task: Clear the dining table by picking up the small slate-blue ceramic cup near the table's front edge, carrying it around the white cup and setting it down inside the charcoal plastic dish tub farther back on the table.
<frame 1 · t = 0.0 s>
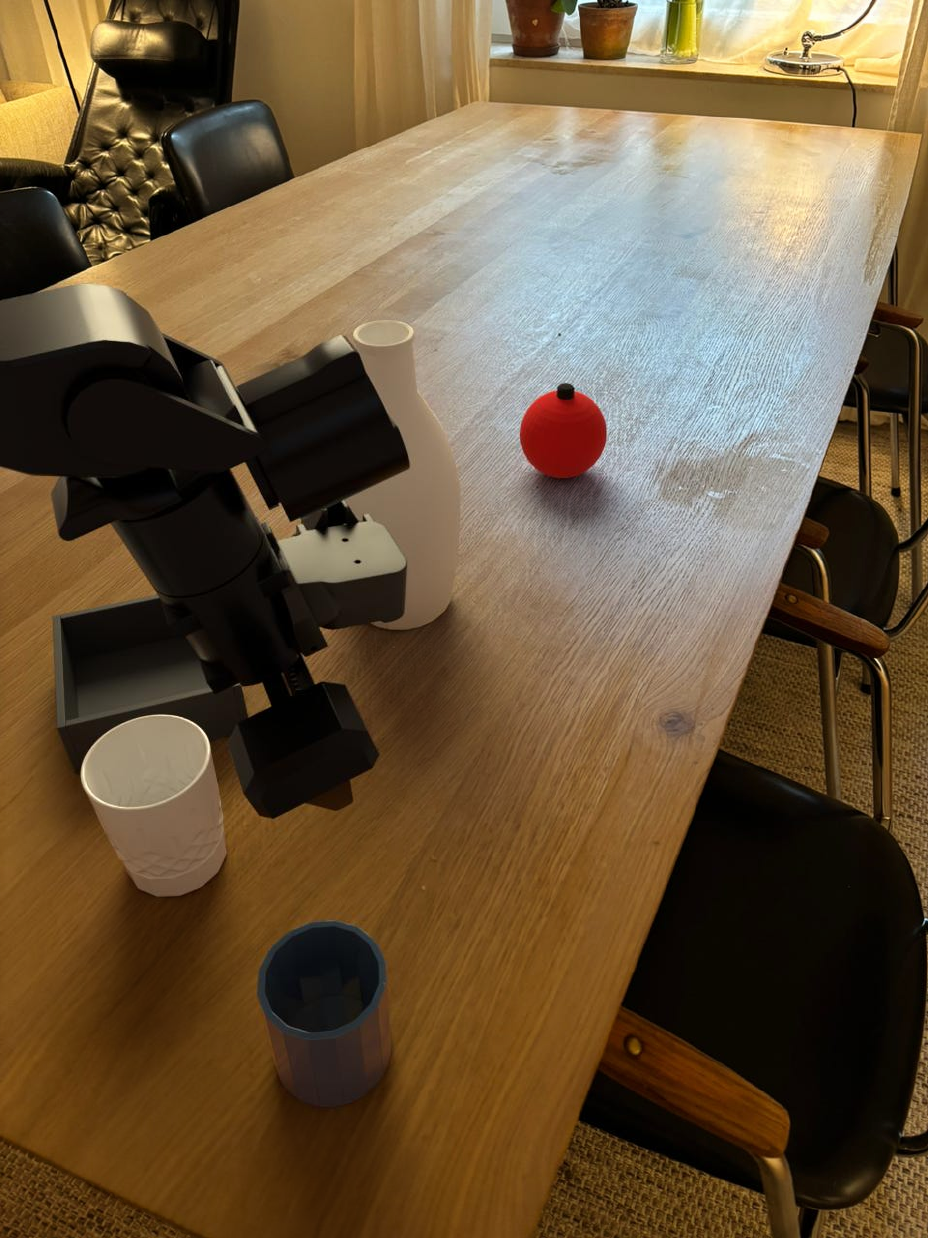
hand: (319, 747, 57), 14 cm above the table, tool pointing down, fingers open, 9 cm apart
bottle: (401, 601, 89), on the table
white cup: (178, 858, 69), on the table
ornament: (560, 473, 106), on the table
cup: (333, 1048, 58), on the table
tub: (156, 694, 80), on the table
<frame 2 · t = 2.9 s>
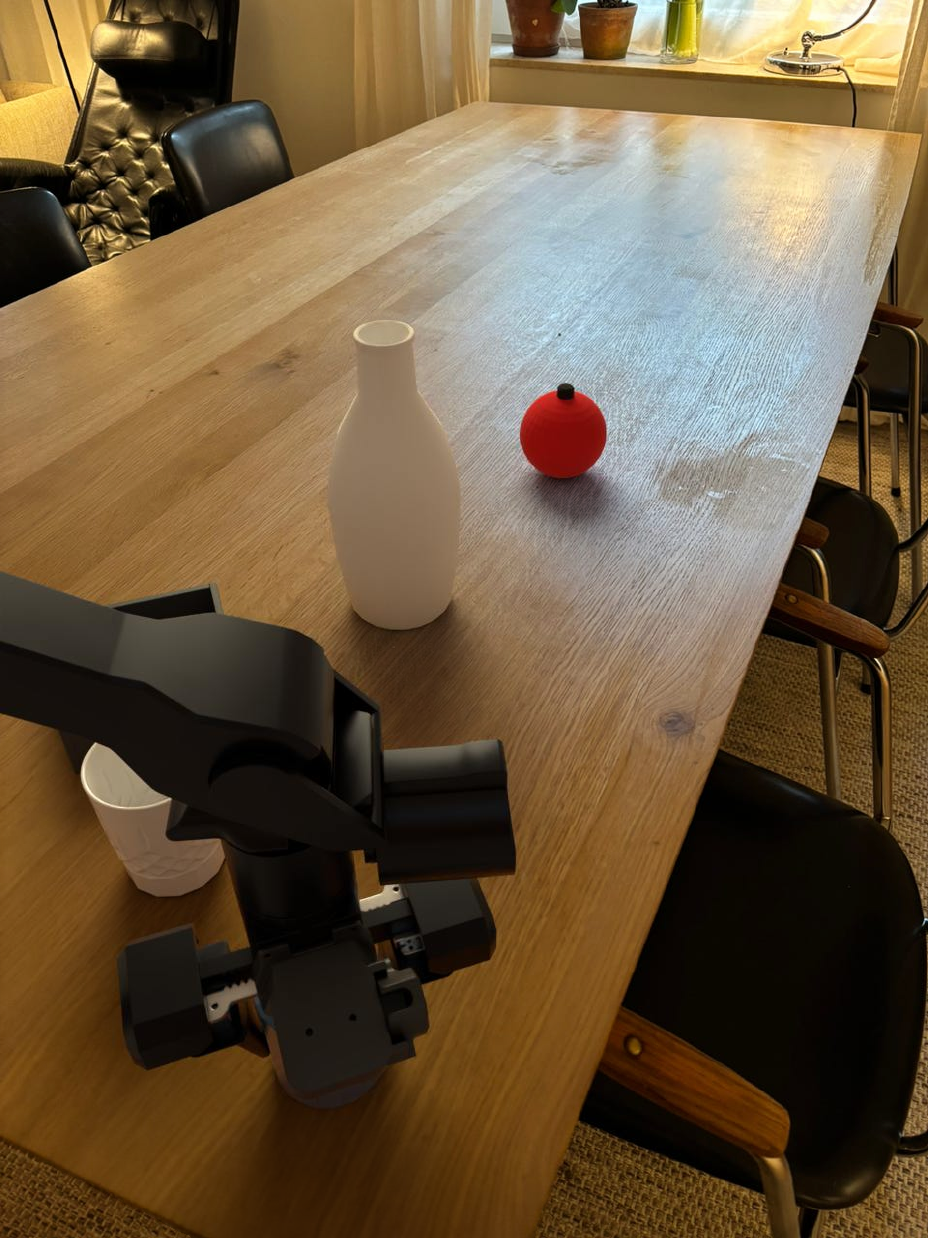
hand: (327, 1029, 57), 2 cm above the table, tool pointing down, fingers closed on cup, 7 cm apart
cup: (331, 1049, 58), on the table, touching gripper
everything else where it was.
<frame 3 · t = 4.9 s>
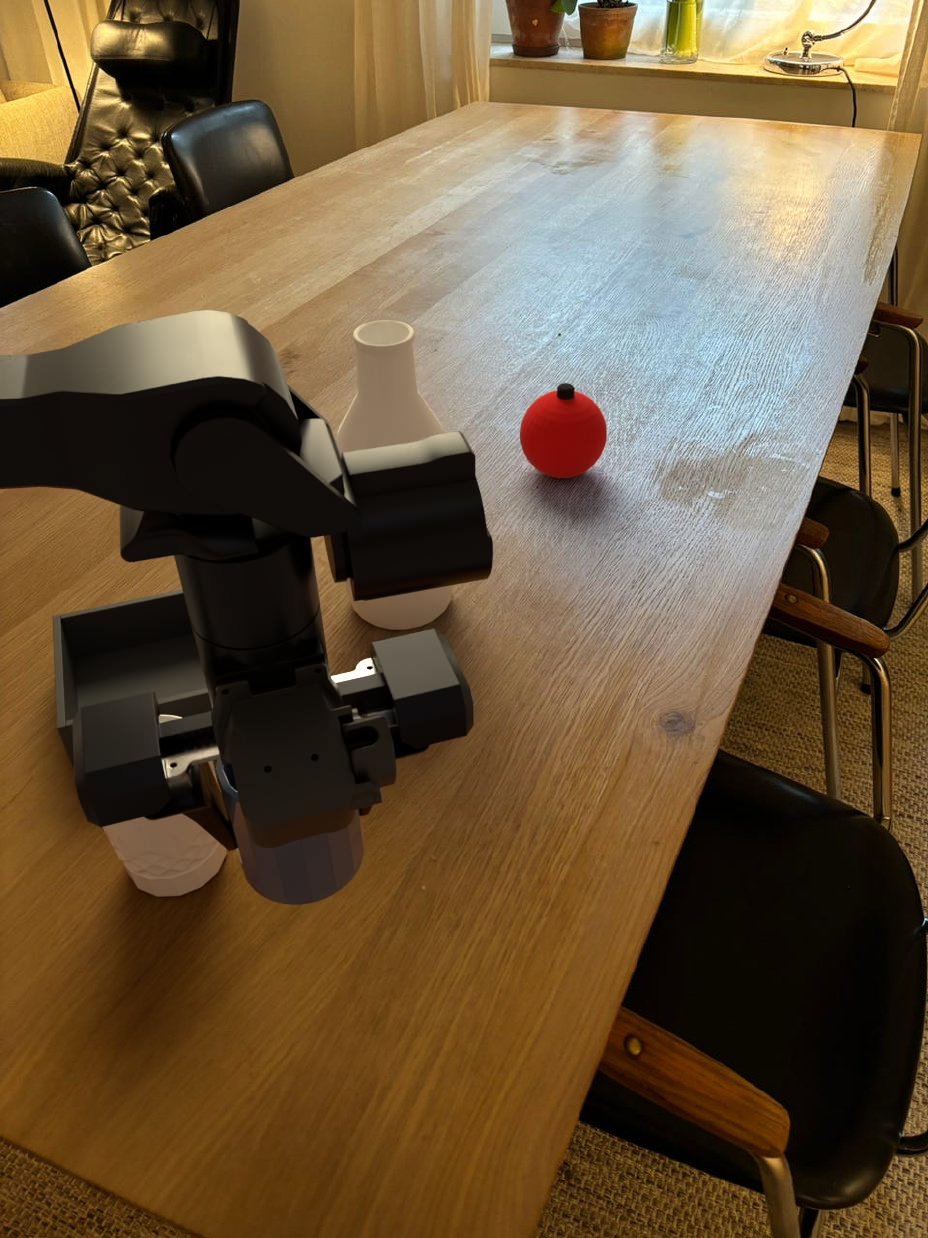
hand: (297, 826, 54), 13 cm above the table, tool pointing down, fingers closed on cup, 7 cm apart
cup: (303, 852, 55), point 11 cm above the table, touching gripper
everything else where it was.
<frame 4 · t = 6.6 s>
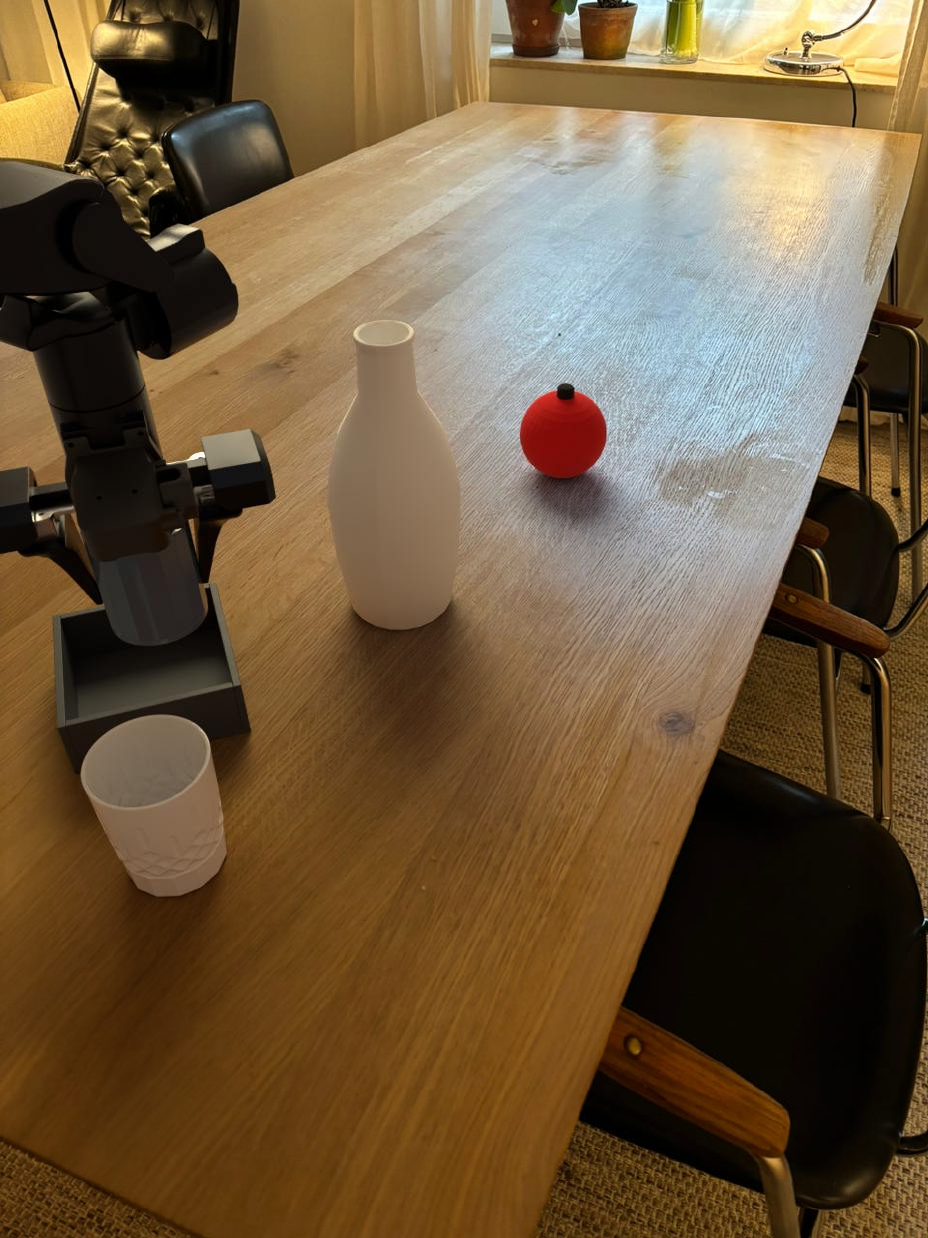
hand: (152, 590, 70), 13 cm above the table, tool pointing down, fingers closed on cup, 7 cm apart
cup: (159, 614, 71), point 11 cm above the table, touching gripper
everything else where it was.
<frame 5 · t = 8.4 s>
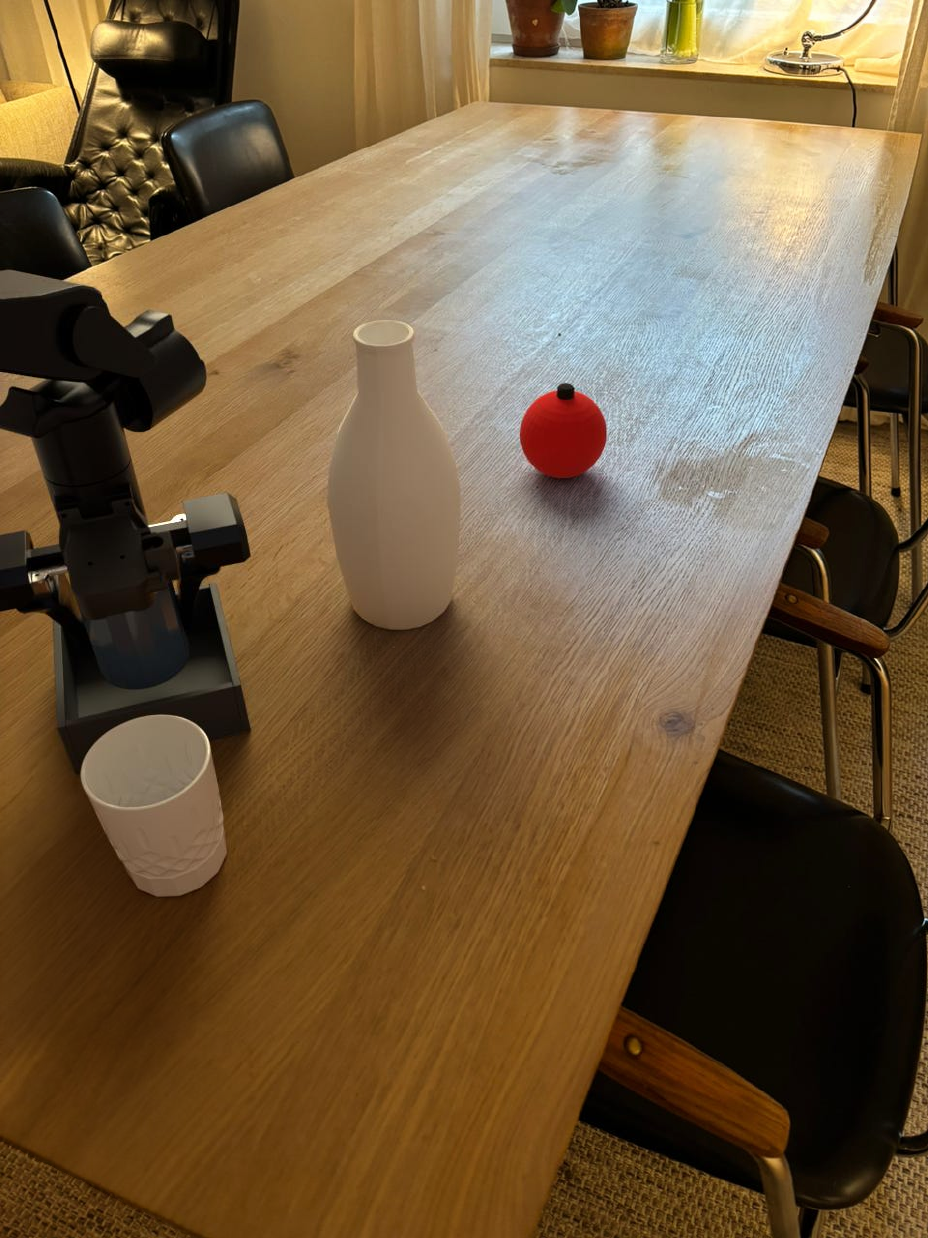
hand: (138, 638, 76), 6 cm above the table, tool pointing down, fingers closed on cup, 7 cm apart
cup: (145, 659, 78), point 4 cm above the table, touching gripper
everything else where it was.
when the fingers open (3 cm above the table, at t = 10.1 s): cup stays where it is, resting on tub.
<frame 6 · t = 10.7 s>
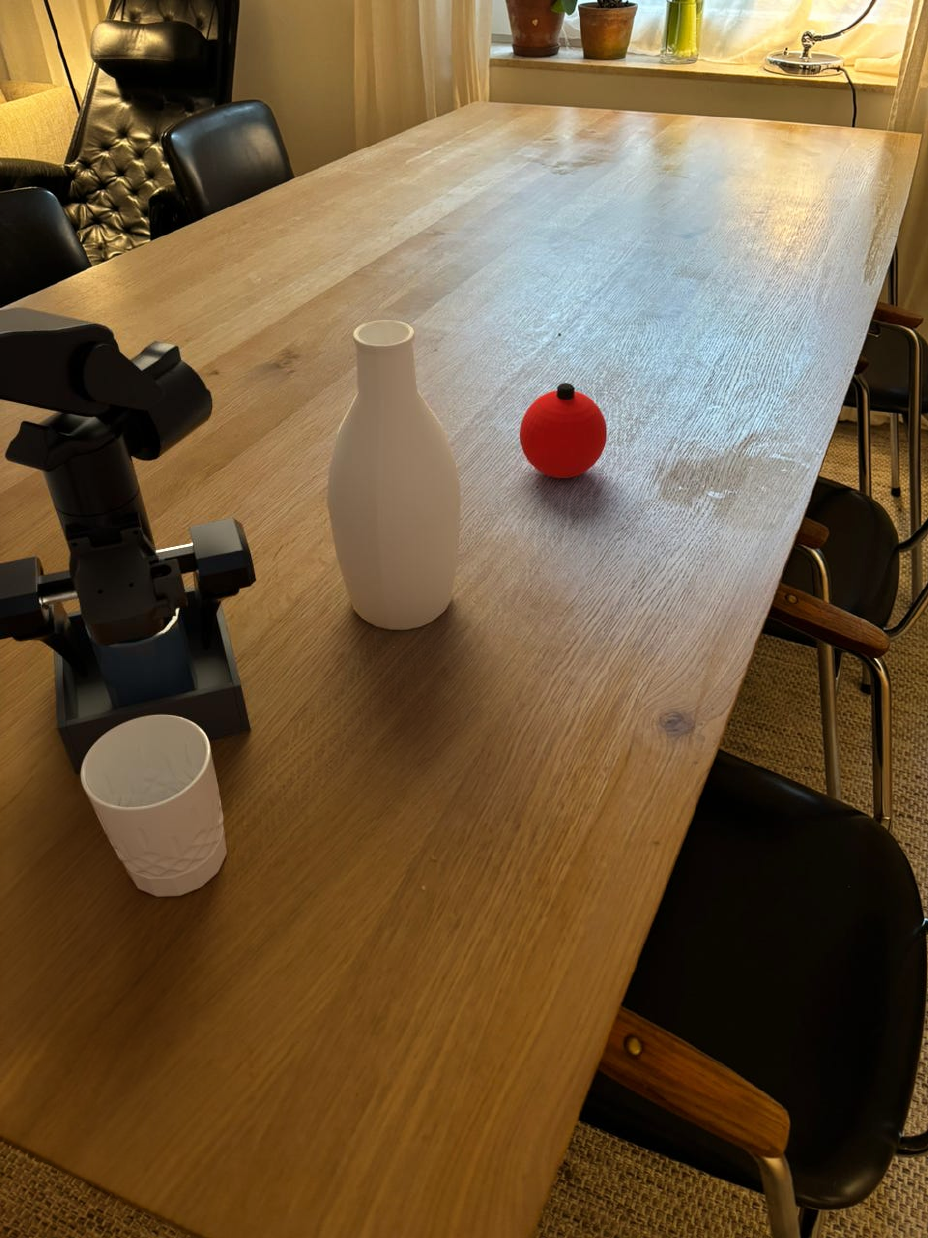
hand: (146, 660, 78), 4 cm above the table, tool pointing down, fingers open, 9 cm apart
cup: (155, 692, 80), resting on tub
everything else where it was.
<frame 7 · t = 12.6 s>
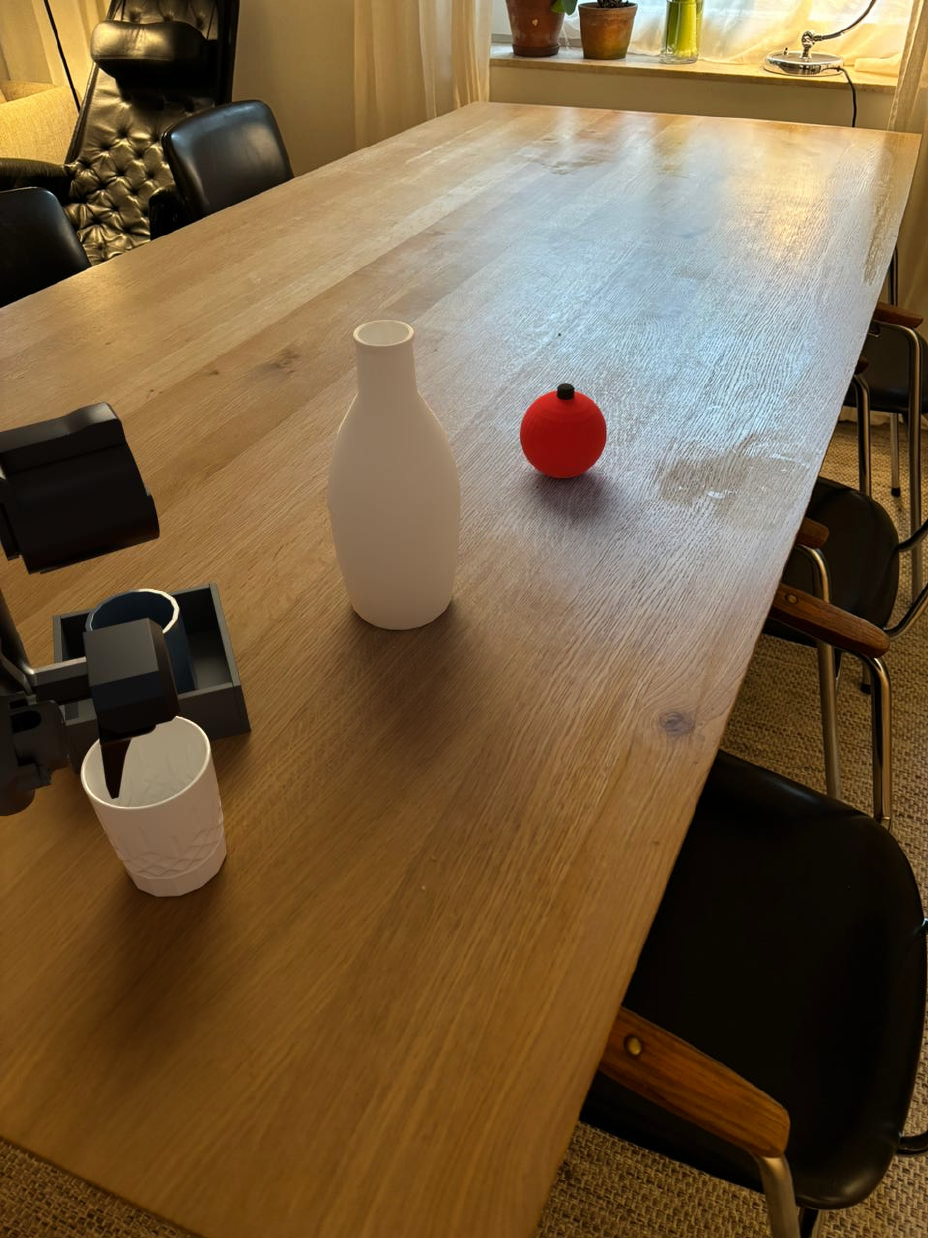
hand: (29, 815, 55), 13 cm above the table, tool pointing down, fingers open, 9 cm apart
nothing on the table moved.
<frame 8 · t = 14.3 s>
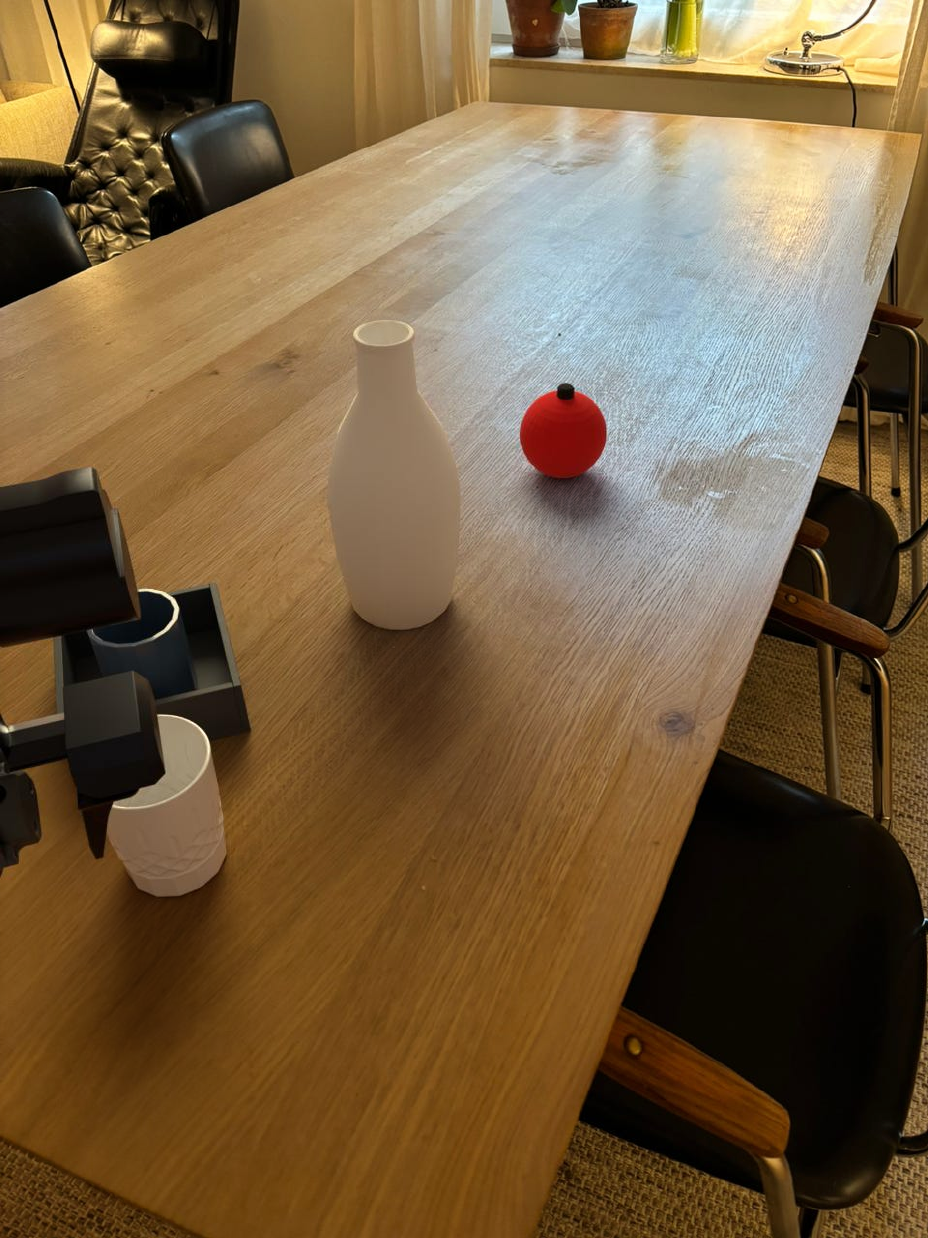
hand: (8, 876, 52), 13 cm above the table, tool pointing down, fingers open, 9 cm apart
nothing on the table moved.
at the end: cup inside the target area in the tub (0.2 cm from its centre), point 0.5 cm above the tub's base; cup tilted 0°; the gripper is holding nothing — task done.
